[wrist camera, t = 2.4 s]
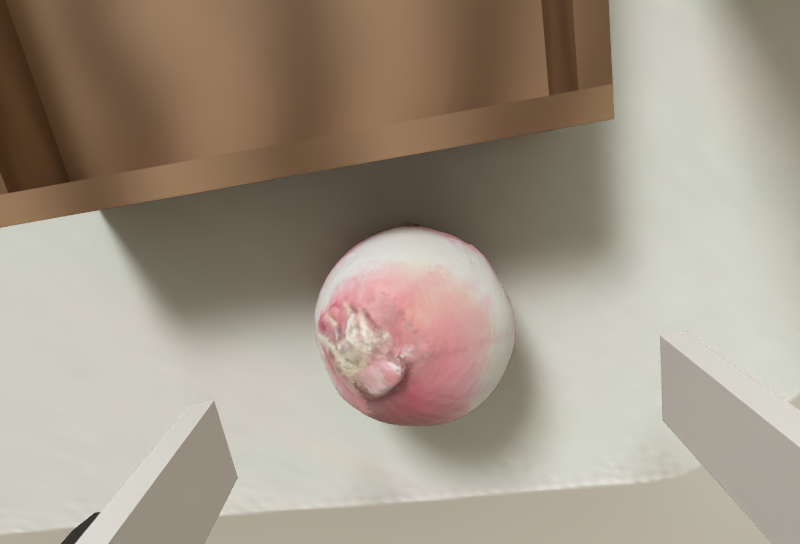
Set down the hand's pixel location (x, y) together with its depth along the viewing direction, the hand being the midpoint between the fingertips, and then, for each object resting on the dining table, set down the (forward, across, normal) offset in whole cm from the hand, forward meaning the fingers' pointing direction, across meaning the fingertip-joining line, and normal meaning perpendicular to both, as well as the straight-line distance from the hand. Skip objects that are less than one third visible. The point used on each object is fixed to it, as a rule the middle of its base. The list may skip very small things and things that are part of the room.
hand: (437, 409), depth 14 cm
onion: (+9, -1, +1) cm, 9 cm away
